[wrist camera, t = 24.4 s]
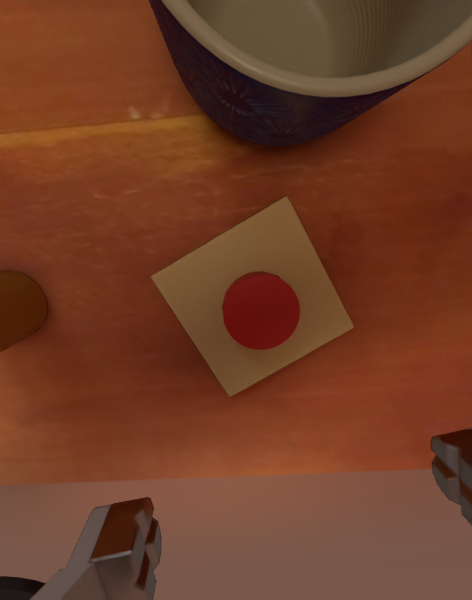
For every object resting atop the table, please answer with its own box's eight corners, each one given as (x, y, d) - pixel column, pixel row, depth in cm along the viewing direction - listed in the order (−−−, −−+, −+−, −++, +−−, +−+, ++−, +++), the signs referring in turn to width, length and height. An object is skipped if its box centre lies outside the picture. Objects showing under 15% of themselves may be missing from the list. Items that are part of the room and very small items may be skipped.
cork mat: (351, 325, 31) (354, 327, 30) (229, 393, 32) (229, 397, 31) (284, 196, 28) (287, 195, 27) (152, 275, 29) (150, 277, 28)
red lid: (214, 331, 29) (213, 339, 27) (233, 262, 28) (235, 265, 26) (281, 348, 30) (286, 358, 28) (303, 282, 29) (311, 286, 26)
